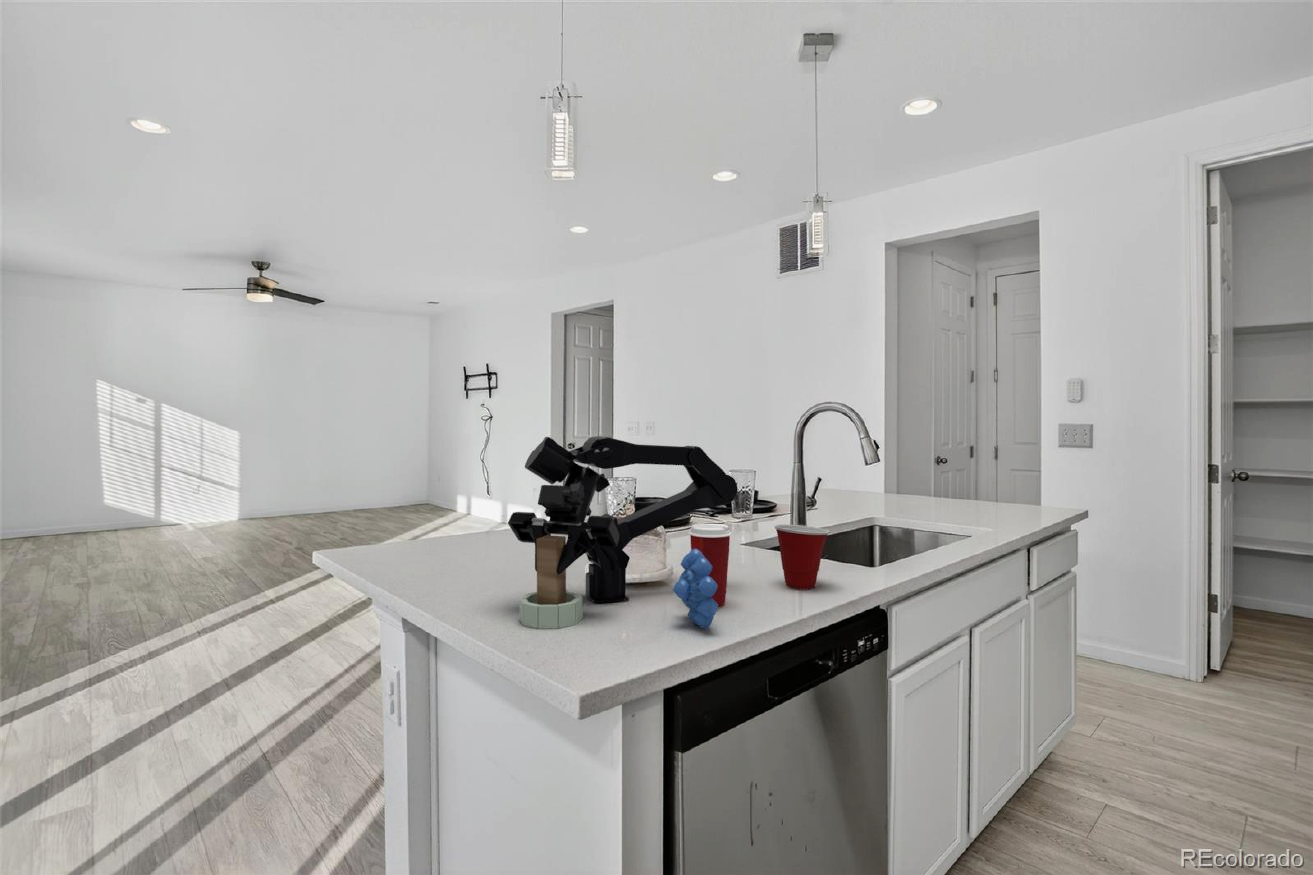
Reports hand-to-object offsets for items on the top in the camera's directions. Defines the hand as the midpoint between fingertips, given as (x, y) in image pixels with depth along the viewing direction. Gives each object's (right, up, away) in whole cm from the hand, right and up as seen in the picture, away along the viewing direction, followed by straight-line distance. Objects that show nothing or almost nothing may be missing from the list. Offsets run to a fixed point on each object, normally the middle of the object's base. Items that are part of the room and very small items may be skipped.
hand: (547, 571), depth 106 cm
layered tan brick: (0, -7, +2) cm, 7 cm away
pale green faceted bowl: (0, -8, +2) cm, 8 cm away
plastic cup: (+47, -8, +25) cm, 53 cm away
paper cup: (+27, -8, +11) cm, 31 cm away
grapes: (+23, -9, -1) cm, 25 cm away
